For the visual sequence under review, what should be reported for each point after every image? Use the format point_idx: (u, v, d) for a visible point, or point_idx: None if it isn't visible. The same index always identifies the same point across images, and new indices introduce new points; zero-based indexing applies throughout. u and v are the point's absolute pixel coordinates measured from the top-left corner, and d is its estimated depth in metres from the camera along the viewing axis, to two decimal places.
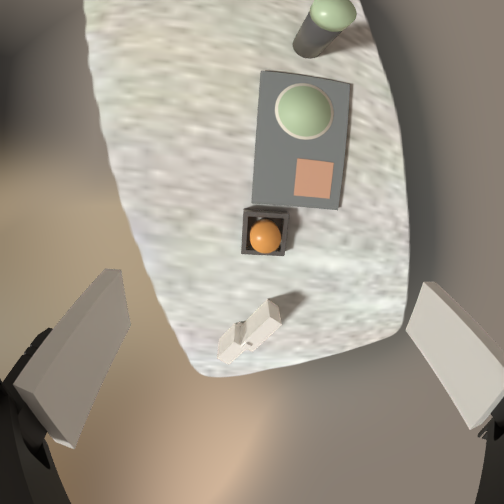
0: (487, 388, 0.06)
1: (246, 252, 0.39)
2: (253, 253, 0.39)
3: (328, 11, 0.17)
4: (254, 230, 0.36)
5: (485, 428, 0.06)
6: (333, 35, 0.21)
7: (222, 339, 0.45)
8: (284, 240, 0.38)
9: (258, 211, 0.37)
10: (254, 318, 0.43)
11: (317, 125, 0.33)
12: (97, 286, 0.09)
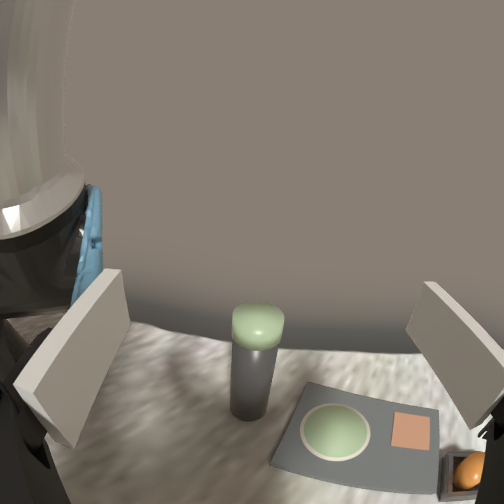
0: (487, 388, 0.06)
1: None
2: None
3: (262, 322, 0.21)
4: (472, 477, 0.12)
5: (485, 428, 0.06)
6: None
7: None
8: None
9: (445, 483, 0.14)
10: None
11: (354, 421, 0.24)
12: (97, 286, 0.09)
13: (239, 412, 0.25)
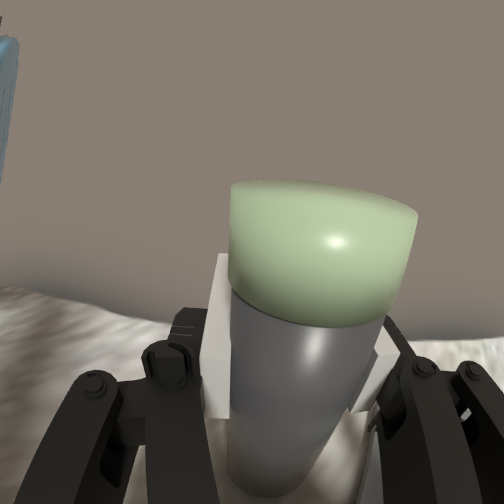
0: None
1: None
2: None
3: (354, 205, 0.05)
4: None
5: (373, 422, 0.07)
6: None
7: None
8: None
9: None
10: None
11: None
12: (224, 266, 0.11)
13: (250, 486, 0.09)
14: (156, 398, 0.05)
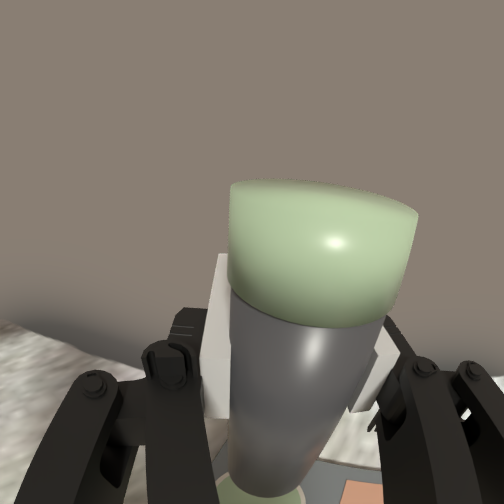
0: None
1: None
2: None
3: (354, 205, 0.05)
4: None
5: (373, 422, 0.07)
6: None
7: None
8: None
9: None
10: None
11: None
12: (224, 267, 0.11)
13: (250, 486, 0.09)
14: (156, 398, 0.05)
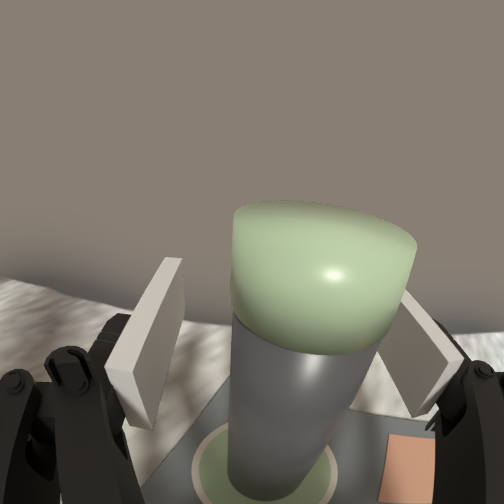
0: (426, 373, 0.07)
1: None
2: None
3: (355, 237, 0.05)
4: None
5: (431, 421, 0.07)
6: None
7: None
8: None
9: None
10: None
11: None
12: (164, 272, 0.10)
13: (249, 490, 0.09)
14: (63, 404, 0.04)
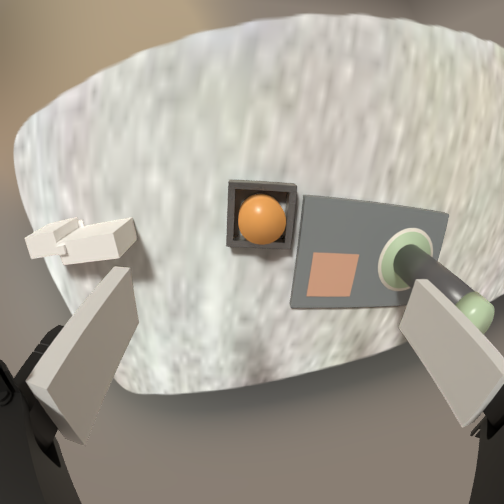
0: (479, 385, 0.06)
1: (231, 189, 0.24)
2: (229, 200, 0.24)
3: (476, 319, 0.16)
4: (276, 205, 0.23)
5: (478, 426, 0.06)
6: None
7: (50, 225, 0.25)
8: (251, 245, 0.26)
9: None
10: (98, 226, 0.25)
11: (391, 275, 0.29)
12: (107, 283, 0.09)
13: (418, 248, 0.26)
14: None
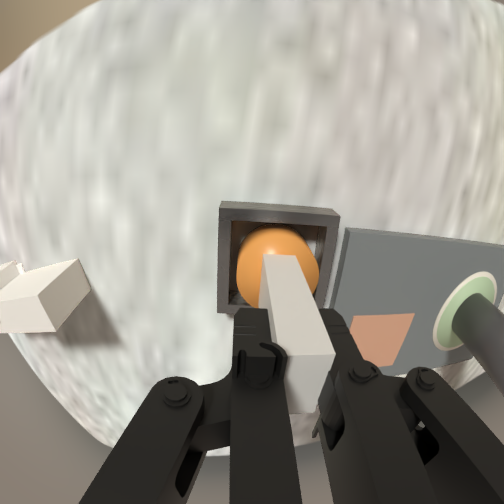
0: None
1: (223, 221, 0.13)
2: (221, 240, 0.14)
3: None
4: (304, 250, 0.13)
5: (316, 428, 0.07)
6: None
7: None
8: None
9: None
10: (34, 276, 0.14)
11: (446, 334, 0.18)
12: (273, 267, 0.11)
13: (487, 301, 0.15)
14: (242, 396, 0.05)
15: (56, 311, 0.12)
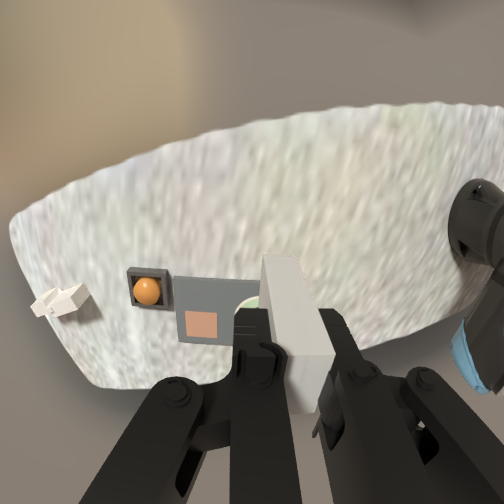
0: None
1: (128, 275, 0.38)
2: (129, 281, 0.39)
3: None
4: (151, 285, 0.38)
5: (316, 429, 0.07)
6: None
7: (43, 294, 0.40)
8: (145, 305, 0.40)
9: (166, 284, 0.39)
10: (67, 292, 0.39)
11: None
12: (273, 267, 0.11)
13: None
14: (242, 396, 0.05)
15: (77, 302, 0.37)
